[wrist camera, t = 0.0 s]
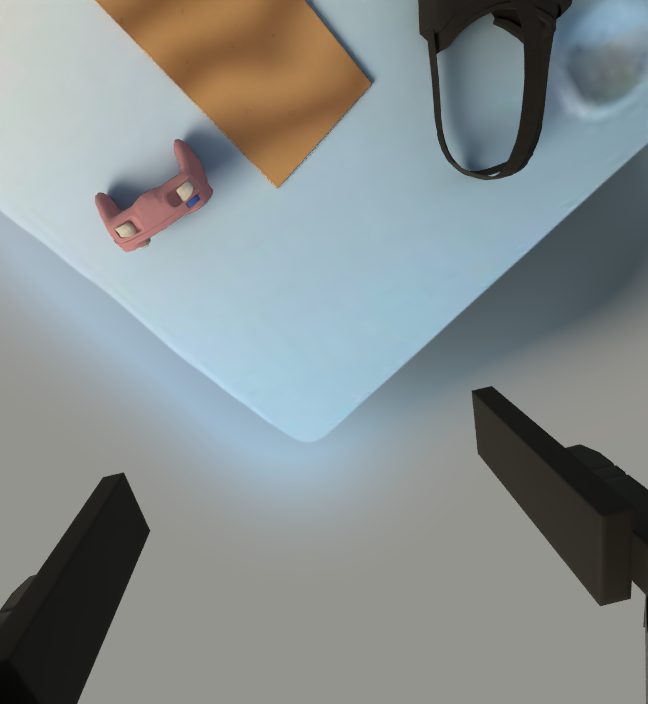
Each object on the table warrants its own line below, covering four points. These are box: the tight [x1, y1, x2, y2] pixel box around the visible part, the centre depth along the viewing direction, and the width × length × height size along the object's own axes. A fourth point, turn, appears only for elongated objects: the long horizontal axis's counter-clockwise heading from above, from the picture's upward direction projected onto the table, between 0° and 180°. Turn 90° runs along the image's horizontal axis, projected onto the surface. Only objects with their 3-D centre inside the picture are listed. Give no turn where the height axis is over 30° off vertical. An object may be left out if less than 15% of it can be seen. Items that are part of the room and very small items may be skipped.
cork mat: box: [95, 0, 372, 188], centre depth 34 cm, size 20×12×1 cm, turn 45°
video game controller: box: [95, 139, 213, 252], centre depth 35 cm, size 10×5×7 cm, turn 121°
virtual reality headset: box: [418, 0, 572, 180], centre depth 33 cm, size 11×17×10 cm, turn 7°
